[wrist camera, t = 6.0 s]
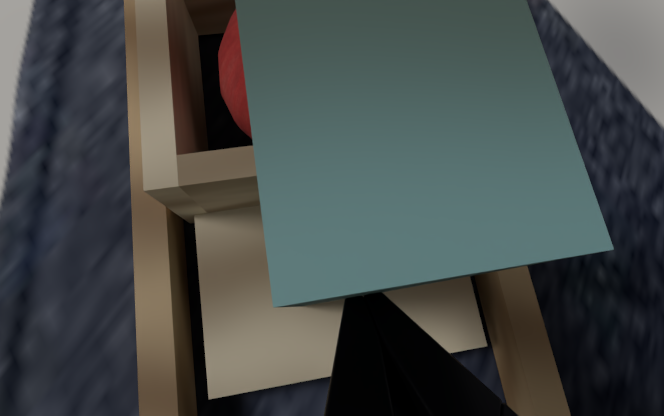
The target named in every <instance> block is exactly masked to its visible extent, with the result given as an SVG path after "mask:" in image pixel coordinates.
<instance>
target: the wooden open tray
mask: <svg viewBox="0 0 664 416" xmlns="http://www.w3.org/2000/svg"><path fill="white" fill-rule="evenodd" d="M235 9H236V12H237V20H238V28H239V36H240V44H241V52H242V60H243V68H244V76H245V85H246V93H247V101H248V109H249V117H250V125H251V133H252V141H253V145H252V146H244V147H236V148H228V149H221V150H213V151H209V149H208V138H207V127H206V117H205V106H204V95H203V84H202V73H201V63H200V52H199V41H198V35H208V34H218V33H225V31H226V28H227V25H228V23H229V20H230V18H231V16H232V14H233V12H234V11H235ZM135 15H136V36H137V58H138V80H139V102H140V124H141V146H142V168H143V190H144V192H146V193H147V194H149V195H150V196H152V197H153V198H154V199H156V200H157V201H159V202H160V203H162V204H163V205H164V206H166V207H167V208H169V209H170V210H172V211H173V212H174V213H176V214H177V215H179V216H180V217H182V218H183V219H184V220H186V221H187V222H189V223H190V224H191V223H195V233H196V245H197V258H198V271H199V284H200V296H201V309H202V322H203V334H204V347H205V360H206V372H207V385H208V398H209V399H214V398H220V397H225V396H230V395H235V394H240V393H246V392H251V391H256V390H261V389H266V388H272V387H277V386H282V385H287V384H293V383H298V382H303V381H308V380H313V379H319V378H324V377H329V376H331V373H332V368H333V362H334V356H335V351H336V345H337V340H338V334H339V329H340V323H341V317H342V312H343V306H344V301H345V298H349V297H355V296H361V295H362V296H364V295H367V294H373V293H379V292H382V293H383V294H385V295H386V296H387V297H388V298H389V299H390V300H391V301H392V302H393V303H395V304H396V305H397V306H398V307H399V308H400V309H401V310H402V311H403V312H405V313H406V314H407V315H408V316H409V317H410V318H411V319H412V320H413V321H414V322H416V323H417V324H418V325H419V326H420V327H421V328H422V329H423V330H424V331H426V332H427V333H428V334H429V335H430V336H431V337H432V338H433V339H434V340H435V341H437V342H438V343H439V344H440V345H441V346H442V347H443V348H444V349H445V350H447V351H448V352H449V353H454V352H459V351H465V350H470V349H475V348H480V347H485V346H487V342H486V338H485V334H484V331H483V327H482V323H481V319H480V315H479V311H478V307H477V303H476V299H475V295H474V291H473V287H472V283H471V279H470V276H474V275H479V274H485V273H490V272H496V271H501V270H506V269H512V268H517V267H522V266H528V265H533V264H539V263H544V262H549V261H555V260H560V259H565V258H571V257H576V256H581V255H587V254H592V253H598V252H603V251H608V250H614V248H613V245H612V242H611V239H610V237H609V234H608V231H607V228H606V225H605V222H604V219H603V217H602V214H601V211H600V208H599V205H598V202H597V200H596V197H595V194H594V191H593V188H592V185H591V183H590V180H589V177H588V174H587V171H586V168H585V165H584V163H583V160H582V157H581V154H580V151H579V148H578V146H577V143H576V140H575V137H574V134H573V131H572V128H571V126H570V123H569V120H568V117H567V114H566V111H565V109H564V106H563V103H562V100H561V97H560V94H559V92H558V89H557V86H556V83H555V80H554V77H553V74H552V72H551V69H550V66H549V63H548V60H547V57H546V55H545V52H544V49H543V46H542V43H541V40H540V38H539V35H538V32H537V29H536V26H535V23H534V20H533V18H532V15H531V12H530V9H529V6H528V3H527V1H526V0H135Z"/></svg>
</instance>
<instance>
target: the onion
mask: <svg viewBox="0 0 664 416" xmlns="http://www.w3.org/2000/svg"><path fill="white" fill-rule="evenodd" d="M218 61H219V78H220V89H221V95H222V97H223V99H224V101H225V103H226V105H227V107H228V109H229V111H230V113H231V115H232V117H233V119H234V121H235V122H236V124H237V125H238V126H239V128H240V129H241V130H242V131H243V132H244V133H245V134H247V135H248V136H249V137H250V138H251V139H252V133H251V125H250V117H249V109H248V101H247V93H246V85H245V76H244V68H243V60H242V52H241V44H240V36H239V28H238V20H237V12H236V9H235V11H234V12H233V14H232V16H231V18H230V20H229V23H228V25H227V28H226V31H225V33H224V36H223V38H222V41H221V44H220V48H219V52H218Z"/></svg>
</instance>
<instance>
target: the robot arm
mask: <svg viewBox="0 0 664 416" xmlns="http://www.w3.org/2000/svg"><path fill="white" fill-rule="evenodd" d="M324 416H519V415H517V414H516V413H515V412H514V411H513V410H512V409H511V408H510V407H509V406H508V405H506V404H505V403H502V401H501V399H500V398H499V397H497V396H496V395H495V394H494V393H493V392H492V391H491V390H490V389H489V388H487V387H486V386H485V385H484V384H483V383H482V382H481V381H480V380H479V379H478V378H476V377H475V376H474V375H473V374H472V373H471V372H470V371H469V370H468V369H466V368H465V367H464V366H463V365H462V364H461V363H460V362H459V361H458V360H456V359H455V358H454V357H453V356H452V355H451V354H450V353H449V352H448V351H447V350H445V349H444V348H443V347H442V346H441V345H440V344H439V343H438V342H437V341H435V340H434V339H433V338H432V337H431V336H430V335H429V334H428V333H427V332H426V331H424V330H423V329H422V328H421V327H420V326H419V325H418V324H417V323H416V322H414V321H413V320H412V319H411V318H410V317H409V316H408V315H407V314H406V313H405V312H403V311H402V310H401V309H400V308H399V307H398V306H397V305H396V304H395V303H393V302H392V301H391V300H390V299H389V298H388V297H387V296H386V295H385V294H383V293H382V292H379V293H373V294H367V295H364V296H362V295H361V296H355V297H349V298H345V301H344V306H343V312H342V317H341V323H340V329H339V334H338V340H337V345H336V351H335V356H334V362H333V368H332V373H331V379H330V384H329V390H328V396H327V401H326V407H325V412H324Z"/></svg>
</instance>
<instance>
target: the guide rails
mask: <svg viewBox="0 0 664 416" xmlns="http://www.w3.org/2000/svg"><path fill="white" fill-rule="evenodd" d="M124 15H125V41H126V68H127V95H128V122H129V149H130V176H131V203H132V230H133V257H134V283H135V310H136V337H137V364H138V391H139V416H197V403H196V389H195V375H194V361H193V347H192V333H191V319H190V305H189V291H188V277H187V263H186V249H185V235H184V221H183V218H182V217H180V216H179V215H177V214H176V213H174V212H173V211H172V210H170V209H169V208H167V207H166V206H164V205H163V204H162V203H160V202H159V201H157V200H156V199H154V198H153V197H152V196H150V195H149V194H147V193H146V192H144V190H143V168H142V146H141V124H140V102H139V80H138V58H137V36H136V15H135V0H124ZM474 277H475V281H476V285H477V289H478V293H479V297H480V301H481V305H482V309H483V313H484V316H485V320H486V324H487V328H488V332H489V336H490V340H491V344H492V348H493V352H494V356H495V360H496V363H497V367H498V371H499V375H500V379H501V383H502V387H503V391H504V395H505V399H506V403H507V405H508V406H509V407H510V408H511V409H512V410H513V411H514V412H515V413H516V414H517V415H519V416H571V414H570V411H569V408H568V404H567V401H566V397H565V394H564V390H563V387H562V384H561V380H560V377H559V373H558V370H557V366H556V363H555V360H554V356H553V353H552V349H551V346H550V342H549V339H548V336H547V332H546V329H545V325H544V322H543V318H542V315H541V312H540V308H539V305H538V301H537V298H536V294H535V291H534V288H533V284H532V281H531V277H530V274H529V270H528V267H527V266H522V267H517V268H512V269H506V270H501V271H496V272H490V273H485V274H479V275H474Z"/></svg>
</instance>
